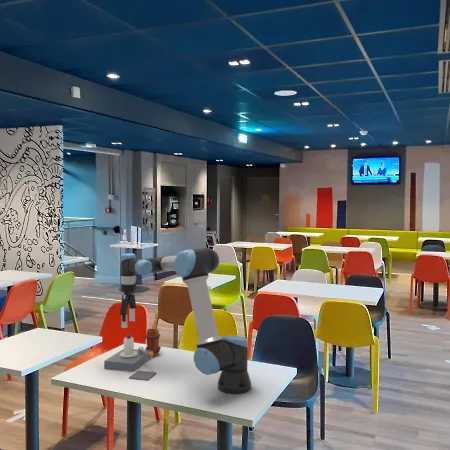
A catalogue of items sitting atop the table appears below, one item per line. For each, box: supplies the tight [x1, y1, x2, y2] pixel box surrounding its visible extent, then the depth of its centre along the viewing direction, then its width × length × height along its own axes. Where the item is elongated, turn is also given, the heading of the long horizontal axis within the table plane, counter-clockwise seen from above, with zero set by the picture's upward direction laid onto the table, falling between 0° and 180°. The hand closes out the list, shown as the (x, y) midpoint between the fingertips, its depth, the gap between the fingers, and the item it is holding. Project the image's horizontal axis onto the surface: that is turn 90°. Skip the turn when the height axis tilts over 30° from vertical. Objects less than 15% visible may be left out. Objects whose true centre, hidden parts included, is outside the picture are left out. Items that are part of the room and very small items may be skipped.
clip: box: [138, 346, 154, 360], centre depth 245 cm, size 18×3×3 cm, turn 29°
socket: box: [103, 348, 151, 373], centre depth 247 cm, size 22×16×5 cm
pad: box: [128, 369, 157, 381], centre depth 229 cm, size 10×10×1 cm
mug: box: [144, 324, 162, 357], centre depth 263 cm, size 15×8×15 cm, turn 179°
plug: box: [120, 333, 138, 358], centre depth 247 cm, size 9×9×15 cm
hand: (128, 324), depth 247 cm, fingers open, 13 cm apart
